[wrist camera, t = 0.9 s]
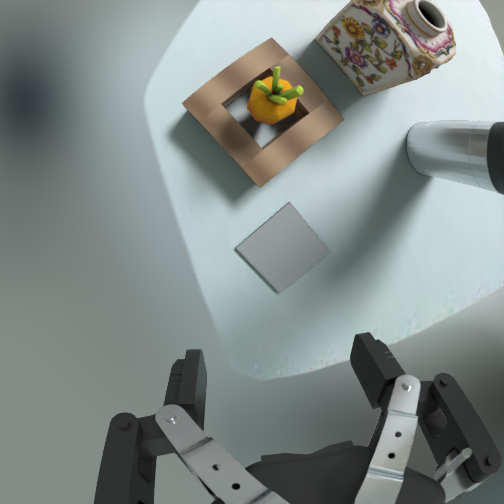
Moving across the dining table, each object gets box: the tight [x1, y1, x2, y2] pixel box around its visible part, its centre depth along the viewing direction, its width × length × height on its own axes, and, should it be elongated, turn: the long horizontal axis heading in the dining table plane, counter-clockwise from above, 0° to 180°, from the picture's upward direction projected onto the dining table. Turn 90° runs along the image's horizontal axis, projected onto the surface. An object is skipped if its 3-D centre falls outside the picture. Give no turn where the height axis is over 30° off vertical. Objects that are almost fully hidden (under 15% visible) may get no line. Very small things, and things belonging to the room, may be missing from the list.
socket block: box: [182, 38, 344, 188], centre depth 31 cm, size 14×14×5 cm
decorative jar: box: [315, 0, 456, 96], centre depth 22 cm, size 12×12×18 cm
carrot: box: [247, 66, 304, 124], centre depth 26 cm, size 5×5×15 cm
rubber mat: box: [236, 202, 329, 293], centre depth 40 cm, size 10×10×1 cm
